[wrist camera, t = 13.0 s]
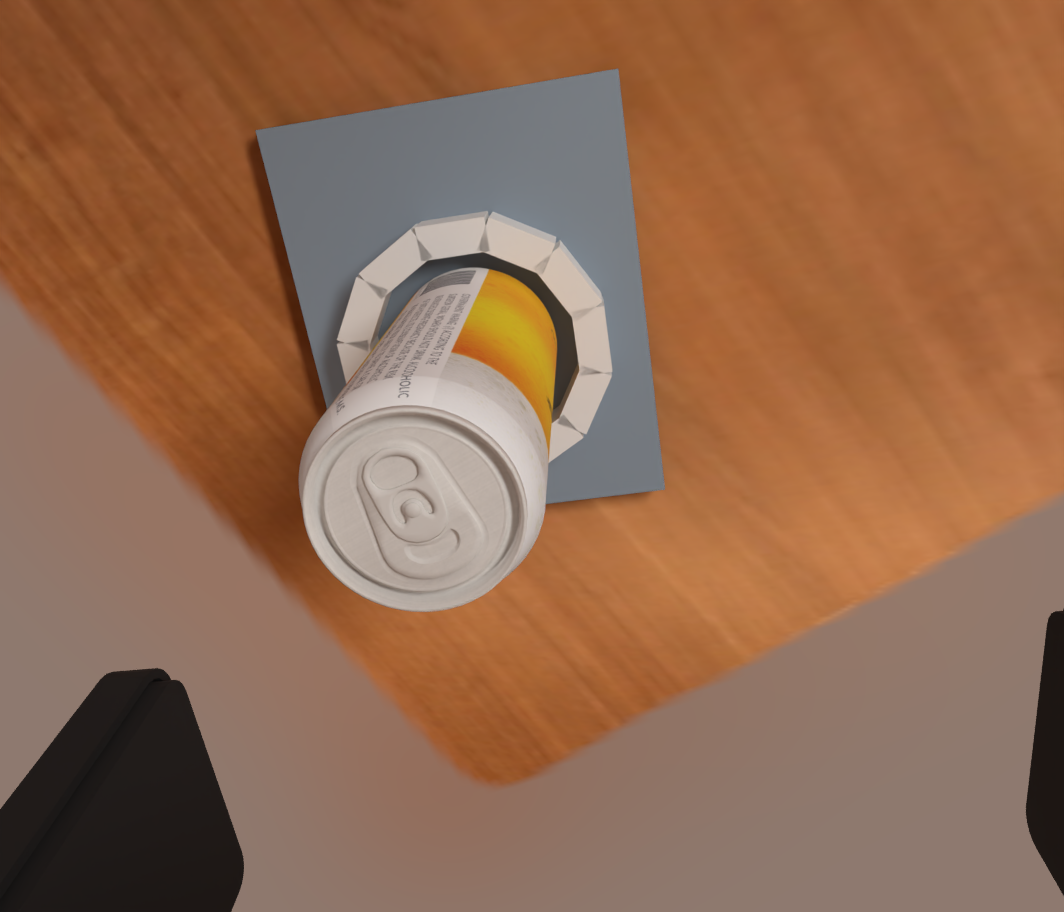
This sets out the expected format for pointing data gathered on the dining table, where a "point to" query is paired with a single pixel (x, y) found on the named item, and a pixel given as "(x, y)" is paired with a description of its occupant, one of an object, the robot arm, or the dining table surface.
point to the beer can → (437, 447)
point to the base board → (473, 171)
